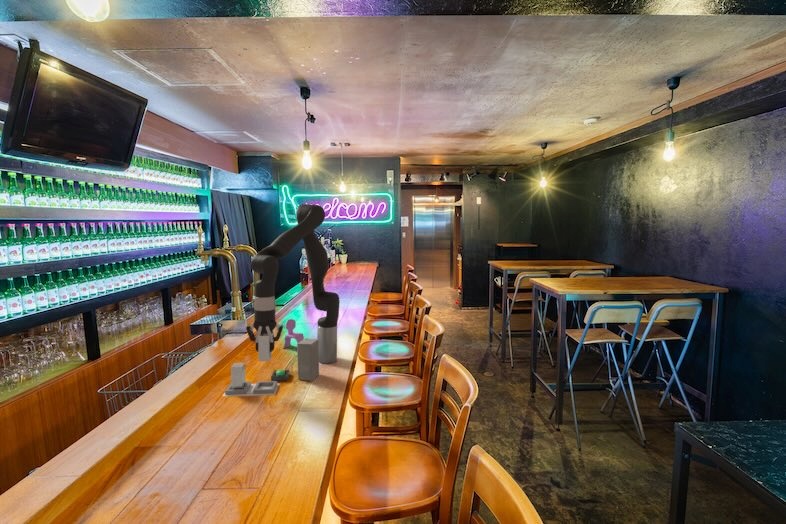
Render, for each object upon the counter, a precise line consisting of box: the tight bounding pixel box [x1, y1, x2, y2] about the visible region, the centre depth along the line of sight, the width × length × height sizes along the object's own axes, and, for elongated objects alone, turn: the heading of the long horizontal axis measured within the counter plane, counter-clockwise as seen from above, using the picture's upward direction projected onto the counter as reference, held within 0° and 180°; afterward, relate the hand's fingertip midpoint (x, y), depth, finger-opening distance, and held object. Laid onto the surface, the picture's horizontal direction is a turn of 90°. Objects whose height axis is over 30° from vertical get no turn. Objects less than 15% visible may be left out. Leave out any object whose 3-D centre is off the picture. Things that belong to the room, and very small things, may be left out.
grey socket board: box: [221, 380, 280, 397], centre depth 141 cm, size 19×10×2 cm, turn 97°
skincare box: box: [296, 337, 320, 382], centre depth 156 cm, size 8×7×16 cm
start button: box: [276, 368, 286, 376], centre depth 152 cm, size 4×4×3 cm
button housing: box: [270, 369, 291, 382], centre depth 152 cm, size 6×6×3 cm
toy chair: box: [282, 318, 305, 352], centre depth 189 cm, size 8×9×15 cm
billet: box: [257, 334, 273, 362], centre depth 140 cm, size 4×4×10 cm
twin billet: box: [230, 362, 246, 389], centre depth 140 cm, size 4×4×10 cm
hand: (265, 350), depth 140 cm, fingers closed on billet, 4 cm apart
